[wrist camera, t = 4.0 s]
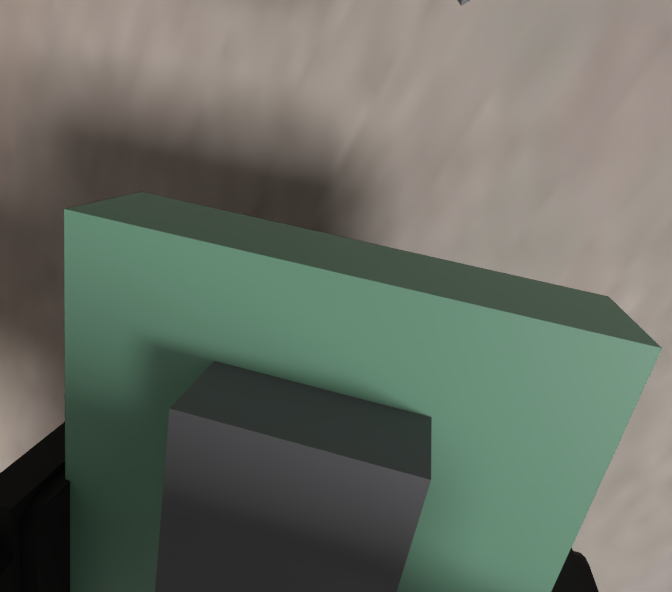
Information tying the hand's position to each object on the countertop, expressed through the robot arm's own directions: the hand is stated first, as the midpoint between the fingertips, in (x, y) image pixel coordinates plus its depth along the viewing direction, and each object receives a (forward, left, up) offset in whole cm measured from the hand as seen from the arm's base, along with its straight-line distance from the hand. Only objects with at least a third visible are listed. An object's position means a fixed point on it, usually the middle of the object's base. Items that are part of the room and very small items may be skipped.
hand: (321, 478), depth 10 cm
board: (0, 0, +2) cm, 2 cm away
